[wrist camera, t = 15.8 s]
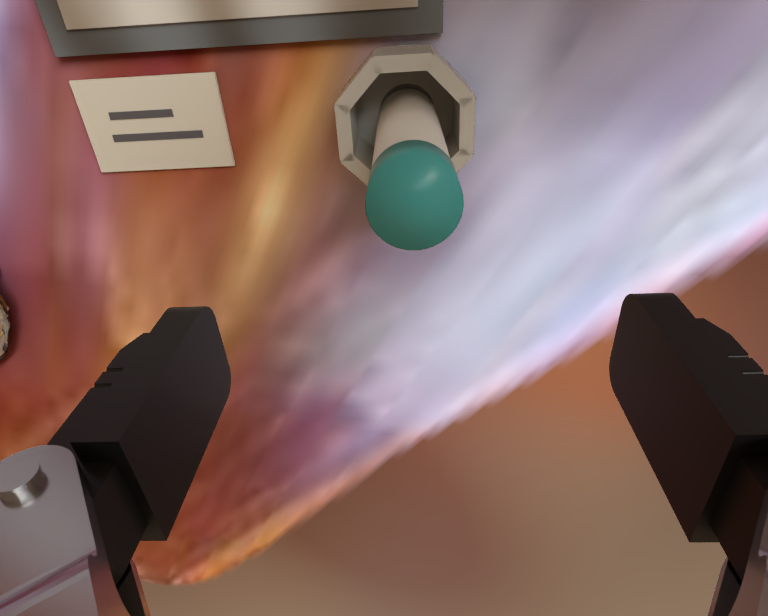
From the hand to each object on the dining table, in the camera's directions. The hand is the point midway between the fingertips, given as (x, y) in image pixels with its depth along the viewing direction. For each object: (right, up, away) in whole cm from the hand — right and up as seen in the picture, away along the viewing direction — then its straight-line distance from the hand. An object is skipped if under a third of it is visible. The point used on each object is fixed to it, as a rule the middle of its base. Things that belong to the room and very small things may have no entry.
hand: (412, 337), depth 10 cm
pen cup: (+1, +11, +18) cm, 21 cm away
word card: (-13, +11, +19) cm, 25 cm away
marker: (+1, +11, +17) cm, 21 cm away
